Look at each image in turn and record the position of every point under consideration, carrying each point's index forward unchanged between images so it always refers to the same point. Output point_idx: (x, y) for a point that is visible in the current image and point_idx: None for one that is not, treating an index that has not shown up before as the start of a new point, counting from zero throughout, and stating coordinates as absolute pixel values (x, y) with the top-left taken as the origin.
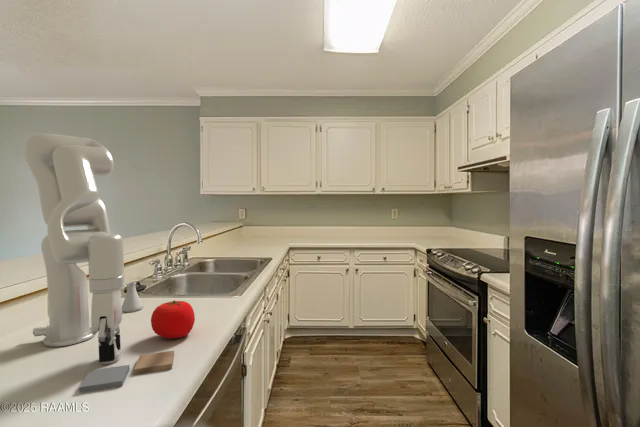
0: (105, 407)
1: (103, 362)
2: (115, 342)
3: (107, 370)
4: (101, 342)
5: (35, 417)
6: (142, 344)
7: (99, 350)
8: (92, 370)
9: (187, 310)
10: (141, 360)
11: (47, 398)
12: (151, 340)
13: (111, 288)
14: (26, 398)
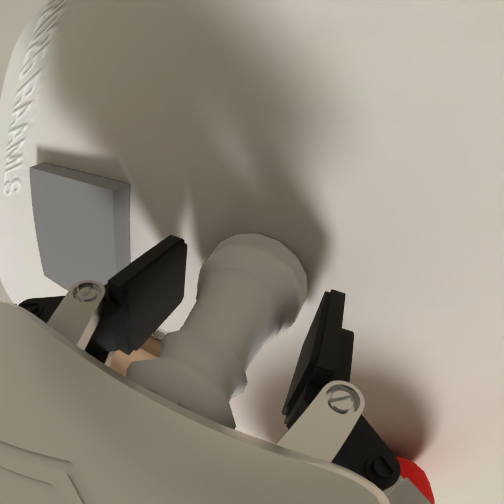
0: (9, 224)
1: (217, 247)
2: (298, 367)
3: (96, 253)
4: (46, 307)
5: (6, 93)
6: (379, 406)
7: (128, 268)
8: (108, 199)
9: None
10: (145, 358)
11: (48, 77)
12: (394, 429)
13: None
14: (73, 12)
